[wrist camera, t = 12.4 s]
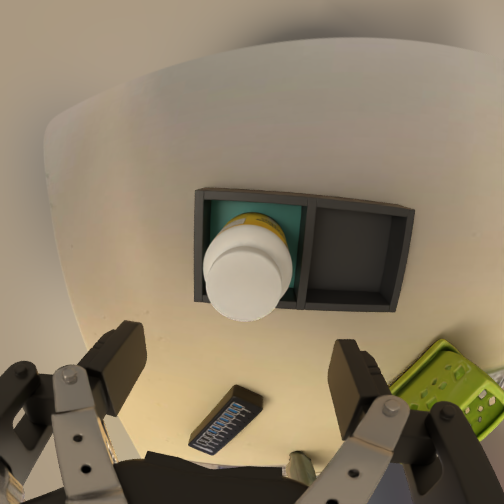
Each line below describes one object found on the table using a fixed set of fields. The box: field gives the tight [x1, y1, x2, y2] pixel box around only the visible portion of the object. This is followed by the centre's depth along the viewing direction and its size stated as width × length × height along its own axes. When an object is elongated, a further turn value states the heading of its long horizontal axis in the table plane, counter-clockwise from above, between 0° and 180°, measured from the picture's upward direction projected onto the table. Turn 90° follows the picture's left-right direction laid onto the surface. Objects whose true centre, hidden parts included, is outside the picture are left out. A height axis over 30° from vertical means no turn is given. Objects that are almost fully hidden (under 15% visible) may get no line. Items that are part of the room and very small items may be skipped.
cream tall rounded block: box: [286, 451, 316, 486], centre depth 35 cm, size 6×5×8 cm
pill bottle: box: [203, 212, 292, 322], centre depth 23 cm, size 6×6×12 cm
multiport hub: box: [188, 385, 263, 455], centre depth 36 cm, size 4×14×2 cm, turn 149°
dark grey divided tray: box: [194, 188, 415, 312], centre depth 27 cm, size 20×10×4 cm, turn 87°
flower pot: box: [389, 339, 504, 464], centre depth 28 cm, size 14×14×13 cm
